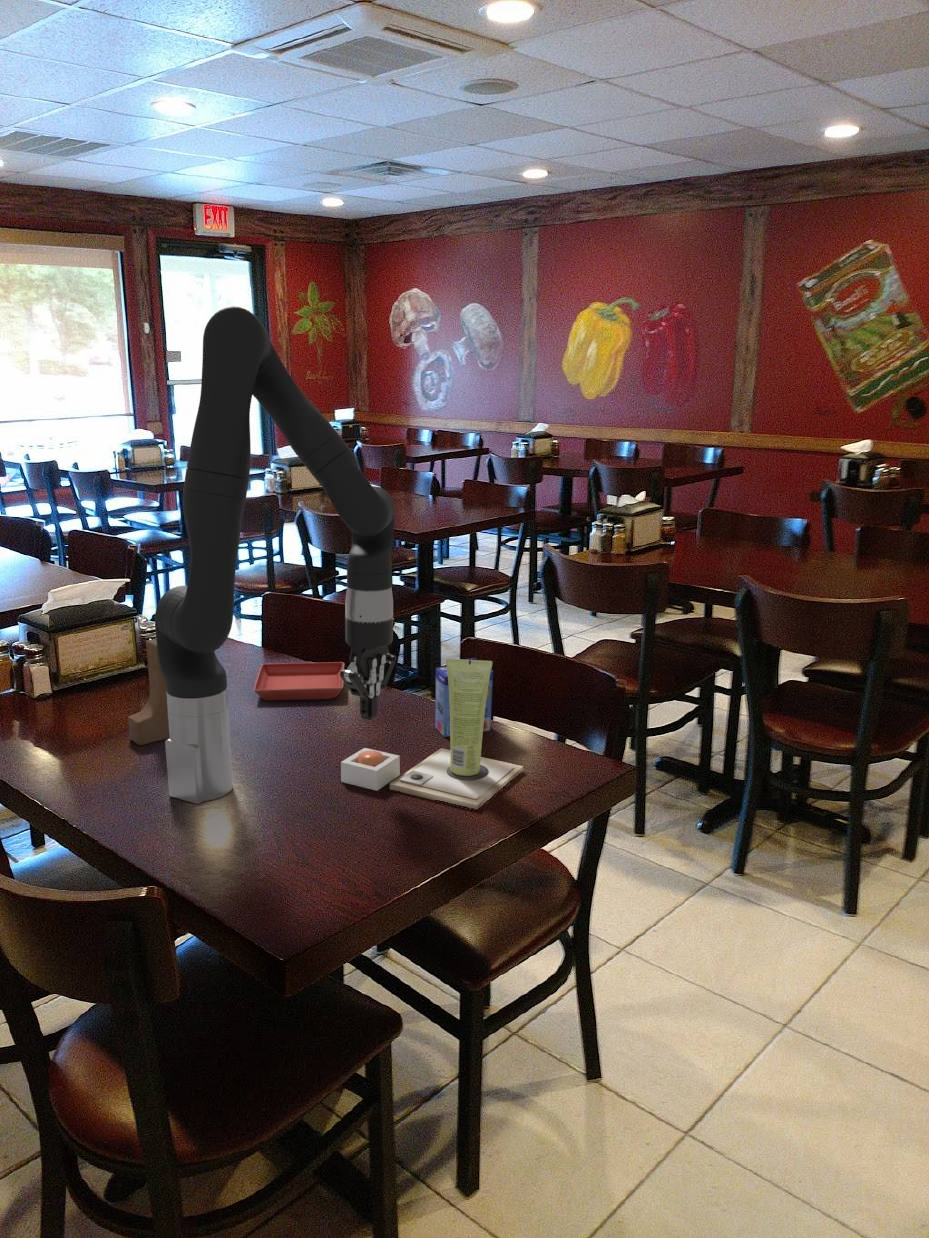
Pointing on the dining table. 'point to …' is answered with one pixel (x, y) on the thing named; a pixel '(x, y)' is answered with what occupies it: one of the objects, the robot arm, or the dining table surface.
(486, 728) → the ink cartridge box
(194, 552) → the robot arm
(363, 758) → the button
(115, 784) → the dining table surface
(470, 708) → the tube
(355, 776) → the button housing
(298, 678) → the plant saucer
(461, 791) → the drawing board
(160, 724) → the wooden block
